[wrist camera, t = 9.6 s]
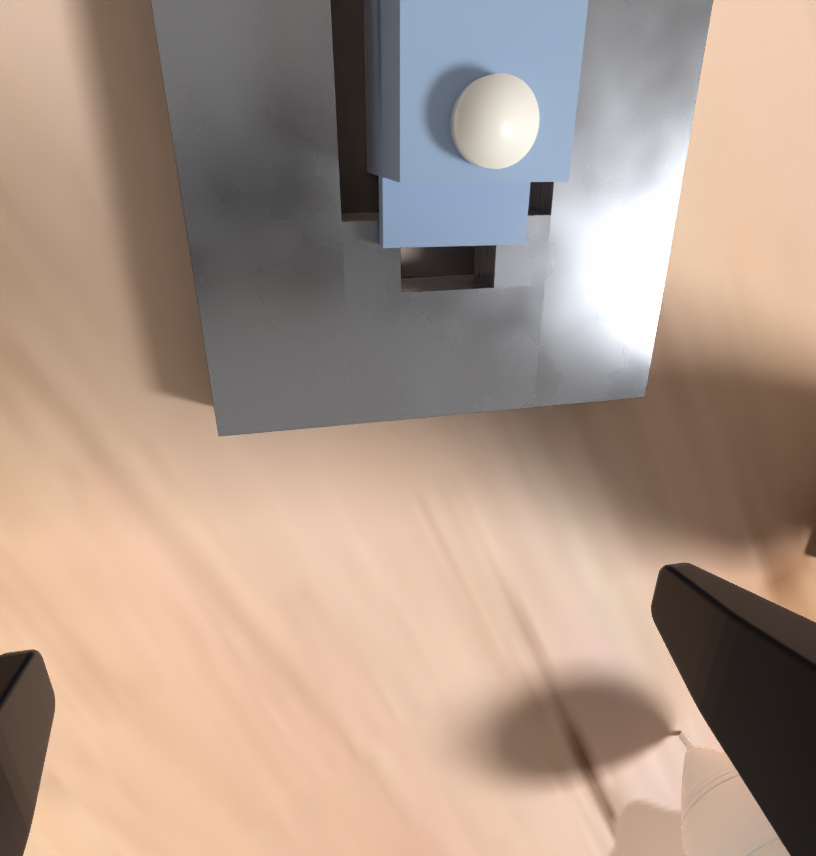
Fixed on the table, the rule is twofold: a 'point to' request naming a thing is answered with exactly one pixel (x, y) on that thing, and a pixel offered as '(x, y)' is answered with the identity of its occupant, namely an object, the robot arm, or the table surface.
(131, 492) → the table surface
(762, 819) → the spinning top
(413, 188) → the servo
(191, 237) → the chassis plate
